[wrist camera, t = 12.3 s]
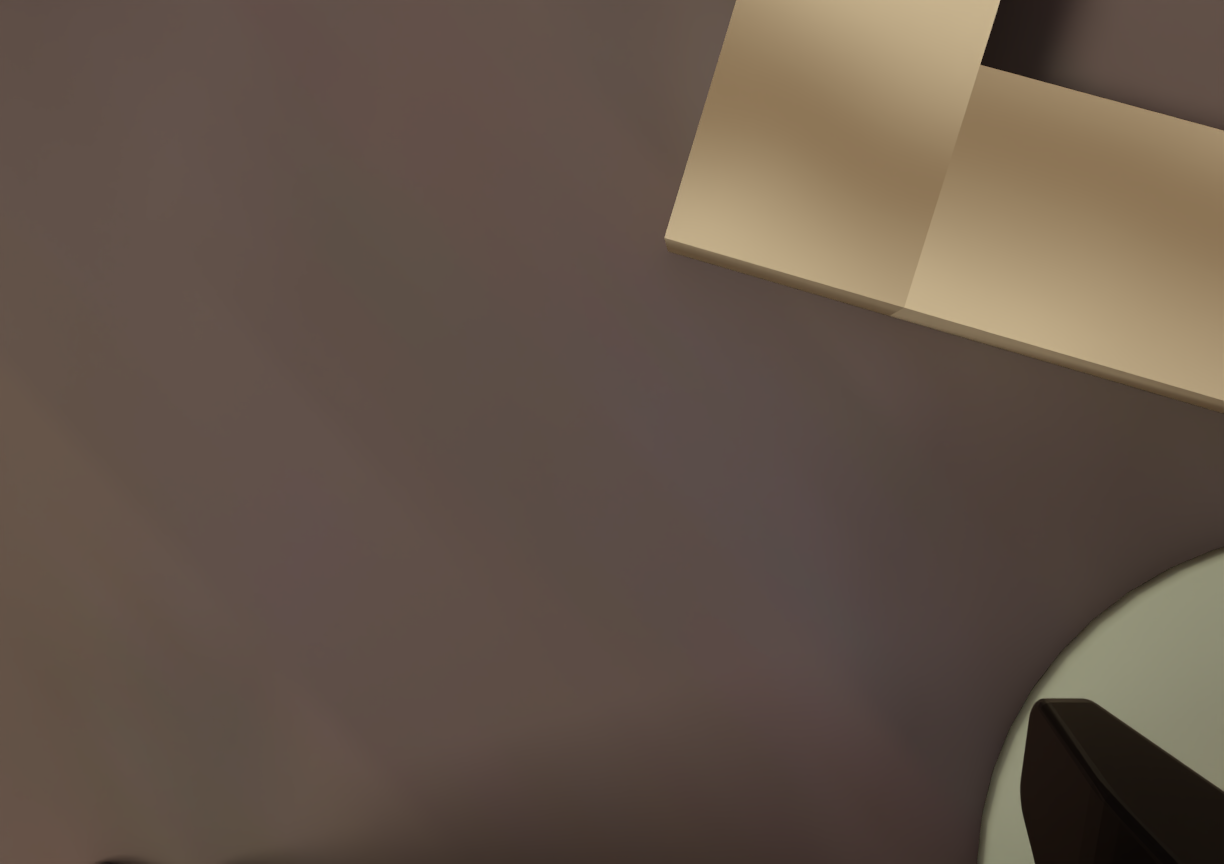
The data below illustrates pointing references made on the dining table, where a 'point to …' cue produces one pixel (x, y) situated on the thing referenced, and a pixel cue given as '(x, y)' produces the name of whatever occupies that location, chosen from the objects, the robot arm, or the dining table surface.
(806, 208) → the puzzle board
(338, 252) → the dining table surface
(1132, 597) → the dish
